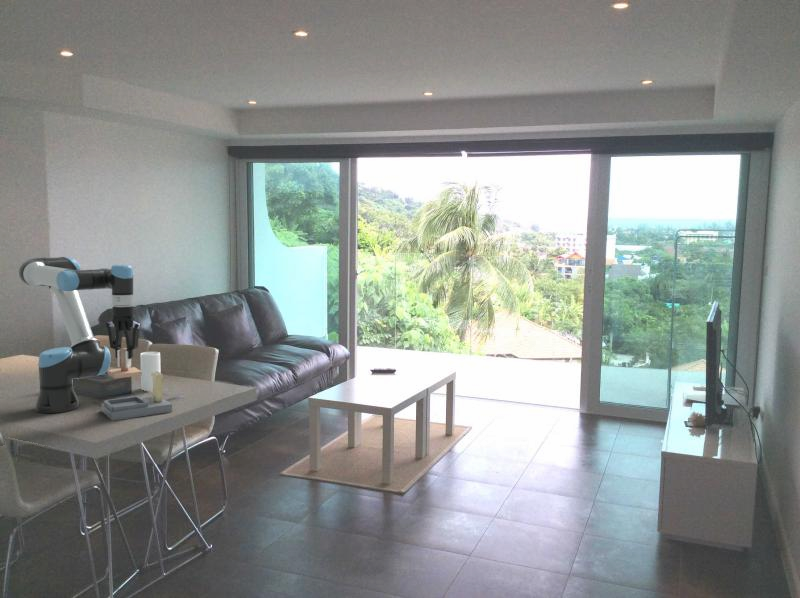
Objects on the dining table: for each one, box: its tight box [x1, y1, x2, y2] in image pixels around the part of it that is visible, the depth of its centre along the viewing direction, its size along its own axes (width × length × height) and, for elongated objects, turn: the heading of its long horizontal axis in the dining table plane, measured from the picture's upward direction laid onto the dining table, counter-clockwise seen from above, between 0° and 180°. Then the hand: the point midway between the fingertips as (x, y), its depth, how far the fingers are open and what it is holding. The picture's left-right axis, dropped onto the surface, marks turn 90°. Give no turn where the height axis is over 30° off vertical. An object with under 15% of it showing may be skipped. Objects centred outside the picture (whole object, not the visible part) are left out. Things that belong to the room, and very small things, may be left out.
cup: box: [140, 351, 162, 392], centre depth 298 cm, size 8×8×16 cm
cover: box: [106, 347, 142, 379], centre depth 257 cm, size 10×10×10 cm
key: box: [147, 371, 164, 402], centre depth 268 cm, size 12×2×11 cm, turn 36°
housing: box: [101, 395, 173, 422], centre depth 261 cm, size 22×16×4 cm
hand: (124, 366), depth 257 cm, fingers closed on cover, 2 cm apart
